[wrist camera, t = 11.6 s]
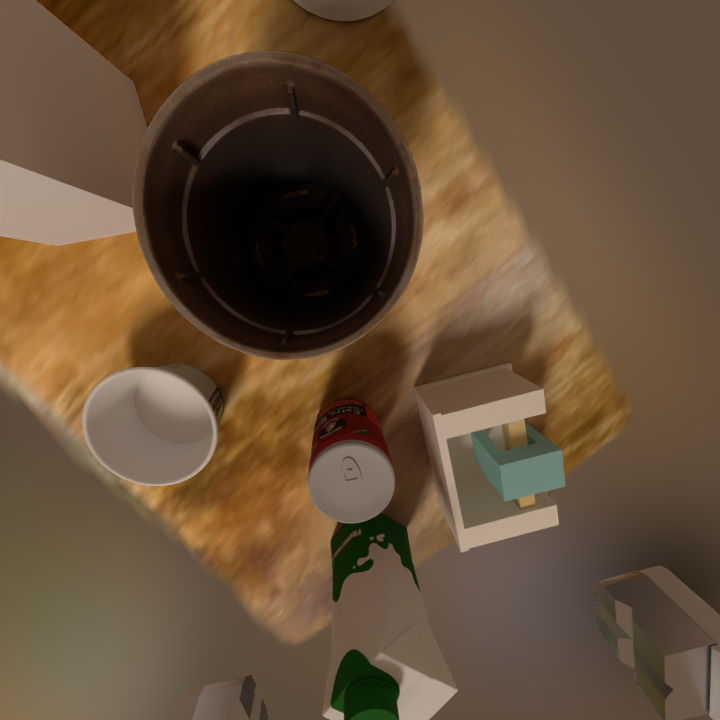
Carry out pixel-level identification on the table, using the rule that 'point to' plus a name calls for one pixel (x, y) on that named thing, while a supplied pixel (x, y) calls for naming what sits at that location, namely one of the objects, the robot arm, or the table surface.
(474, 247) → the table surface
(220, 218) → the plant pot
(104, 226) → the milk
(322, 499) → the canned food
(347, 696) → the milk carton
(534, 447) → the green slotted block
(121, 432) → the food container
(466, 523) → the shelf
